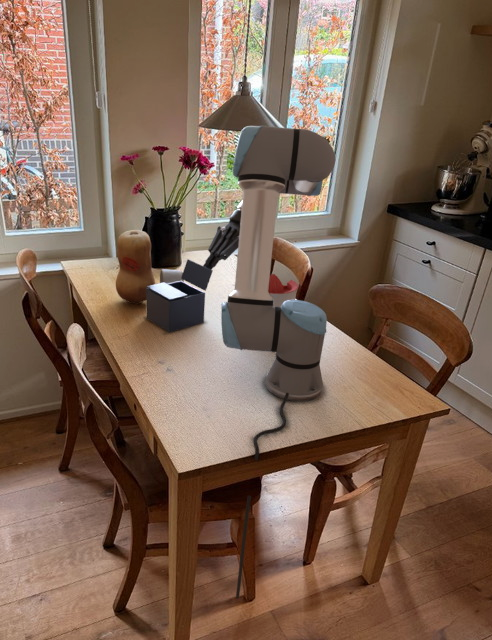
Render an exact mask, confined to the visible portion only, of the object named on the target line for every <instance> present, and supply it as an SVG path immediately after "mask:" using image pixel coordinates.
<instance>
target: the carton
mask: <svg viewBox="0 0 492 640" xmlns="http://www.w3.org/2000/svg"><path fill="white" fill-rule="evenodd" d="M145 302H146V305H145V306H146V320H148V321H149V322H152V323H153V324H155V325H156V326H158V327H160V328H161V329H163V330H164V331H166V332H168V333H170V334H171V333H173V332H176V331H180V330H183V329H186V328H190V327H194V326H196V325H197V326H198V325H200V324H204V323H205V306H206V305H205V303H206V292H205V291H203V290H202V289H200V288H198V287H196V286H195V287H194V285H192V284H191V285H190V283H188V282H186V281H184V282H183V281H177V282H173V283H169V284H166V283H164V282H163V283H160V282H159V283H155V284H154V285H150V286H147V289H146V300H145Z"/></svg>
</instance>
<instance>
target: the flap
mask: <svg viewBox="0 0 492 640" xmlns="http://www.w3.org/2000/svg"><path fill="white" fill-rule="evenodd" d="M182 272H183V274H182V277H181V279H183V280H184V282H186V283H188V284H191V285H192V286H195V287H196V288H198V289H200V290H202V291H204V292H206V291H207V288H208V286H209V282H210V280H211V277H212V274H213V269H212V270H211V269H208V268H206V267H204V266H203V264H199V263H197V262H196V261H194V260H192V259H189V258H187V259H186V262H185V265H184V269H183V271H182Z"/></svg>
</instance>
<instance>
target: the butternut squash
mask: <svg viewBox="0 0 492 640" xmlns="http://www.w3.org/2000/svg"><path fill="white" fill-rule="evenodd" d="M116 251H117V253H116V254H117V261H118V265H119V270H118V273H117V275H116V279H115V290H116V292H117V294H118V296H119V297H120V299H122V300H123V301H126V302H128V303H129V304H133V305H134V304H137V305H140V303H142V302H146V289H147V286H150V285H154V284H156V280H155V276H154V273H153V270H152V269H153V267H152V254H151V253H152V252H151V251H152V242H151V238H150V236H149V234H148V233H147V232H146V231H143V230H140V229H131V230H127V231H124V232H122V233H121V234H120V235H119V237H118V239H117V250H116Z"/></svg>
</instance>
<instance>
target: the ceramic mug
mask: <svg viewBox="0 0 492 640" xmlns="http://www.w3.org/2000/svg"><path fill="white" fill-rule="evenodd" d="M159 271H160V272H159V283H163V282H164V283H166V284H169V283H173V282H177V281H183V282H185V280H183V279H181V277H182V274H183V271H182V270H179V269H167V268H165V269H164V268H161V269H160V270H159Z"/></svg>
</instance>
